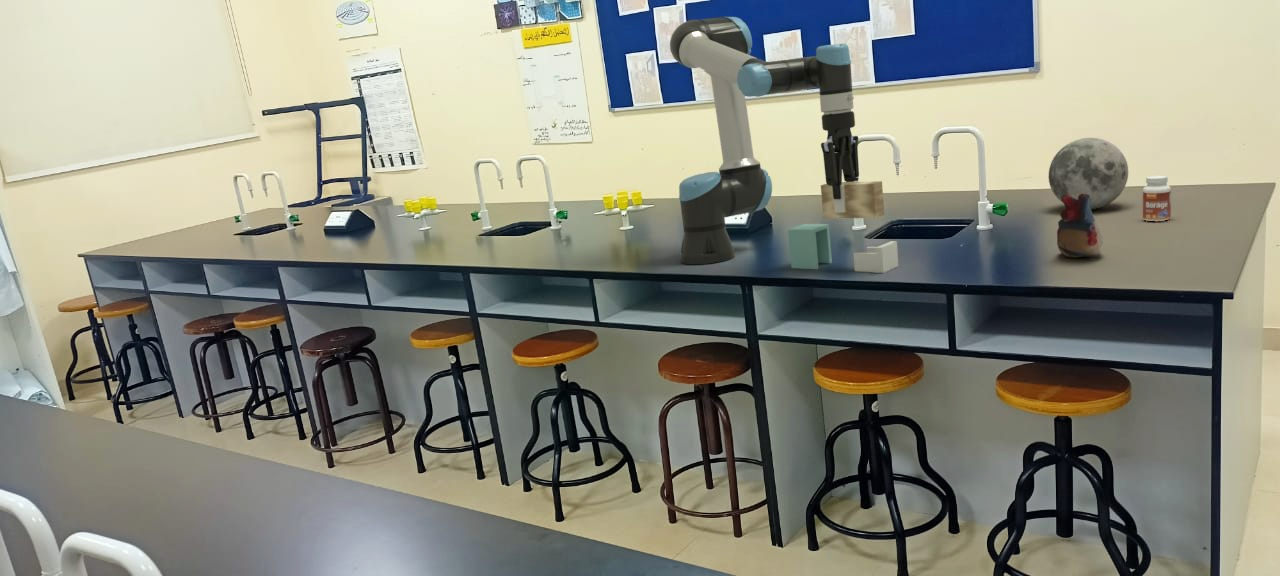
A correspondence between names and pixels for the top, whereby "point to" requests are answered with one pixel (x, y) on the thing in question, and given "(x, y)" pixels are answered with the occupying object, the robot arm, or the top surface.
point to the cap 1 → (809, 245)
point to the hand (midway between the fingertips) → (845, 210)
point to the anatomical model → (1078, 228)
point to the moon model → (1089, 171)
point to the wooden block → (855, 200)
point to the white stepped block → (877, 258)
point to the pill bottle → (1156, 198)
